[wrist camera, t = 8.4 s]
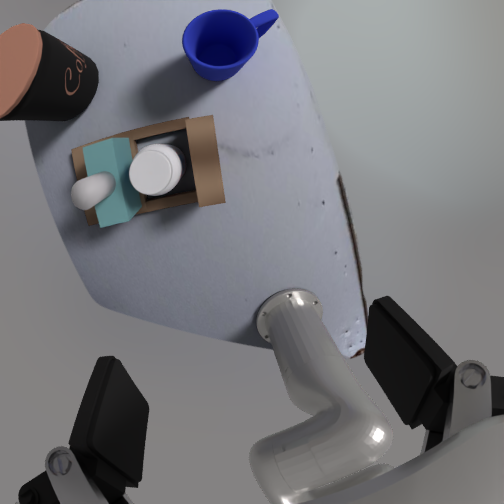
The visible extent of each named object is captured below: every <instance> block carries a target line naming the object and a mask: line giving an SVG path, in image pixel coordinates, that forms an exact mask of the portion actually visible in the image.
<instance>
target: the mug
mask: <svg viewBox="0 0 504 504" xmlns="http://www.w3.org/2000/svg"><path fill="white" fill-rule="evenodd" d="M278 17H279V15H278V14H277V12H276V11H275V10H273V9H270V10H267V11H265V12H262V13H260V14H258V15H256V16H254V17H252V18H251V19H248V18H247V17H246V16H244V15H242V14H240V13H238V12H235V11H231V10H212V11H208V12H205V13H203V14H201V15H199V16H197V17H196V18H194V19H193V20H192V21H191V22H190V23H189V24H188V26H187V27H186V29H185V31H184V34H183V38H182V44H183V49H184V51H185V53H186V55H187V57H188V59H189V61H190V63H191V64H192V66H193V68H194V70H195V71H196V73H197V74H198V75H200V76H201V77H203V78H205V79H207V80H211V81H221V80H225V79H228V78H230V77H232V76H234V75H235V74H236V73H237V72H238V71H239V70H240V69H241V68H242V67H243V66H244V64H245V63H246V62H247V61H248V60H249V59H250V58H251V57H252V56H253V54H254V53H255V51H256V49H257V46H258V41H259V38H260V37H261V36H262V35H264V34H265V33H266V32H267V31H268V30H269V28H270V27H271V26H272V25H273V24H274V23H275V21H276V20H277V19H278ZM257 27H258V28H257ZM256 28H257V29H256Z"/></svg>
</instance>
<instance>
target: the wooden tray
mask: <svg viewBox="0 0 504 504" xmlns="http://www.w3.org/2000/svg"><path fill="white" fill-rule="evenodd" d="M183 129H187V136H188V142H189V149H190V155H191V162H192V168H193V174H194V180H195V186H196V190H192V191H187V192H182V193H177V194H172V195H167V196H162V197H157V198H153V199H148V200H147V196H146V194H143V193H140V192H139V195H140V200H141V204H142V207H141V208H140V209H139V211H138V212H137V213H136V214H141V213H145V212H150V211H154V210H159V209H164V208H169V207H174V206H179V205H184V204H189V203H195V202H198V203H199V207H203V206H209V205H215V204H220V203H226V202H225V195H224V189H223V182H222V175H221V168H220V162H219V155H218V148H217V141H216V134H215V126H214V119H213V115H210V116H204V117H198V118H192V119H189V117H186V118H181V119H176V120H171V121H167V122H162V123H158V124H153V125H149V126H145V127H141V128H137V129H134V130H130V131H126V132H123V133H119V134H116V135H113V136H110V137H106V138H103V139H100V140H97V141H94V142H91V143H88V144H85V145H83V146H80V147H77V148H74V149H72V156H73V162H74V167H75V172H76V177H77V181H79V180H81V179H84V178H86V177H88V175H87V170H86V165H85V160H84V154H83V147H86V146H89V145H92V144H95V143H98V142H101V141H104V140H107V139H110V138H129V142H130V148H131V154H132V160H133V159H134V157H135V155H136V154H137V153H138V148H137V142H136V140H139V139H143V138H147V137H151V136H155V135H159V134H164V133H168V132H173V131H178V130H183ZM84 211H85V215H86V218H87V222H88V225H89V226H90V225H94V224H98V223H99V221H98V217H97V214H96V210H95V206H93V207H91V208H90V209H88V210H84ZM136 214H135V215H136Z"/></svg>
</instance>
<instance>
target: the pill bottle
mask: <svg viewBox="0 0 504 504" xmlns="http://www.w3.org/2000/svg"><path fill="white" fill-rule="evenodd" d="M185 170H186V159H185V156H184V154H183V153H182V151H181V150H180V149H178V148H177V147H175V146H173V145H169V144H152V145H148V146H146V147H144V148H142V149H141V150H140V151H139V152H138V153H137V154H136V155H135V157H134V159H133V161H132V163H131V166H130V170H129V178H130V181H131V184H132V185H133V187H134V188H135V189H136V190H137V191H139V192H140V193H143V194H147V195H152V196H158V195H163V194H165V193H167V192H169V191H170V190H172V189H173V188H174V187H175V186H176V184H177V183H178V182H179V181H180V179H181V178H182V177H183V175H184V173H185Z"/></svg>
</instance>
